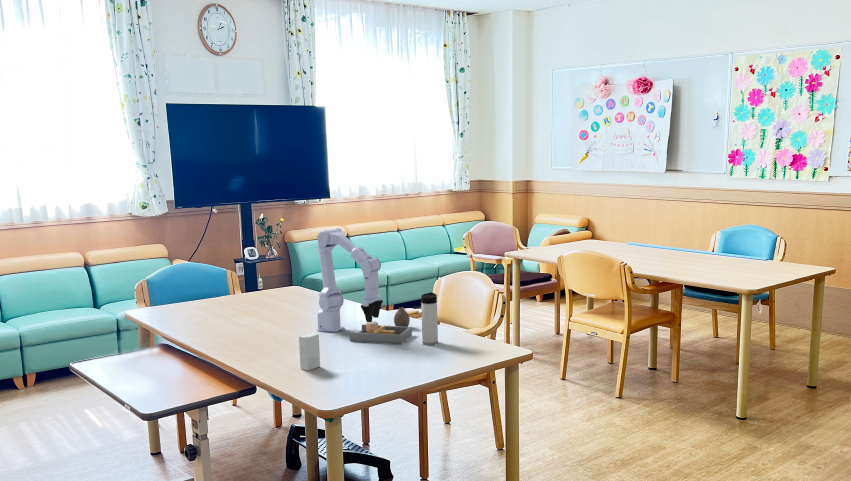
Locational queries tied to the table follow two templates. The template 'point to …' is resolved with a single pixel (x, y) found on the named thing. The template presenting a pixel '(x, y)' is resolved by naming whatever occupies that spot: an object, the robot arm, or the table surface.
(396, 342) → the lane
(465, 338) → the table surface
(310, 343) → the skincare box
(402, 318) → the brown rounded piece
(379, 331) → the pusher
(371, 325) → the jar
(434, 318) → the travel mug
